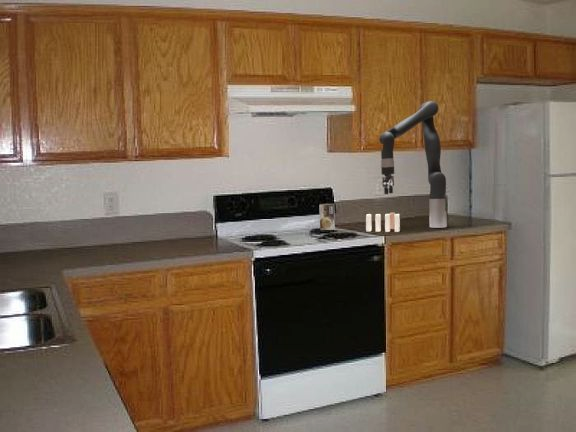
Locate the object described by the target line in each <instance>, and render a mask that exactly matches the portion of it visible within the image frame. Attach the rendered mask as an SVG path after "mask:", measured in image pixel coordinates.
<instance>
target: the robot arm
mask: <svg viewBox="0 0 576 432" xmlns="http://www.w3.org/2000/svg"><path fill="white" fill-rule="evenodd" d="M418 109H419V110H417V111H416V112H415V113H413V114H412V115H410V116H408V117H407V118H404V119H403V120H401V121H399V122H398V123H397V124H395V125H394V126H392V127H391V128H390V129H388V130H386V131H384V132H383V133H381V134H380V136H379V139H378V141H379V142H380V144H381V145H382V149H381V151H380V153H381V154H380V155H381V156H380V157H381V160H380V164H381V165H380V168H381V171H380V172H381V175H382V176H381V177H382V178H381V179H382V187H383V188H384V189H383V190H384V195H389V194H393V193H394V186H395V180H394V179H395V178H394V177H395V176H394V175H395V159H394V147H395V139H397V138H399V137H401V136H403V135H405V134H406V133H407V132H410V131H411V129H413V128H414V127H416V126H417V125H418V124H420V123H421V125H422V133H423V143H424V144H423V145H424V152H425V157H426V162H427V181H428V183H429V185H430V187H429V188H430V190H429V191H430V192H429V195H428V196H429V197H428V200H429V201H428V202H429V205H428V206H429V228H434V229H436V228H438V229H439V228H447V227H448V223H447V222H448V219H447V218H448V216H447V214H448V213H447V212H448V211H446V194H447V178H446V175H445V174H444V173H443V172H442V168H441V154H442V153H441V151H442V149H441V148H442V147H441V146H442V145H441V139H440V136H439V134H438V131H437V130H436V127H435V121H434V120H435V118H434V116H435V115H437V113H438V112H439V105H438V104H437V102H435V101H434V100H429V101H426V102H424V103H423V102H422V104H420V106H419V108H418Z"/></svg>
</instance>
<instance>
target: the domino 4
mask: <svg viewBox="0 0 576 432" xmlns="http://www.w3.org/2000/svg"><path fill="white" fill-rule="evenodd" d="M389 214H390V230H395V220H394V215H395V214H396V212H390V213H389Z"/></svg>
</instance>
